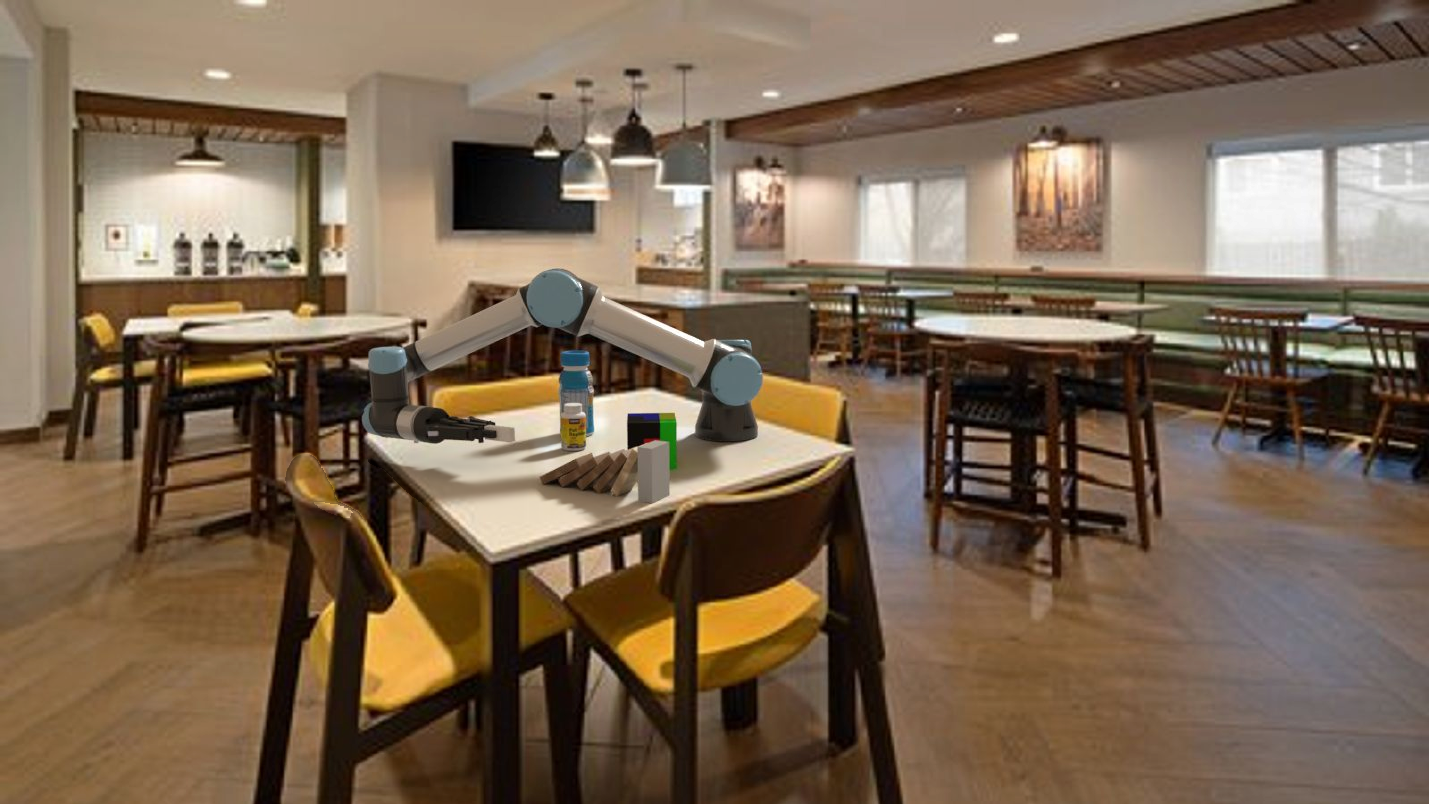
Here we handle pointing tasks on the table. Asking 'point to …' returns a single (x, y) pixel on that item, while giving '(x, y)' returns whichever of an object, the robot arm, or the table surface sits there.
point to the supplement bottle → (573, 427)
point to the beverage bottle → (577, 385)
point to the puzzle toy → (653, 432)
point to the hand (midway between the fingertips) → (512, 435)
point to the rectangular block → (653, 471)
